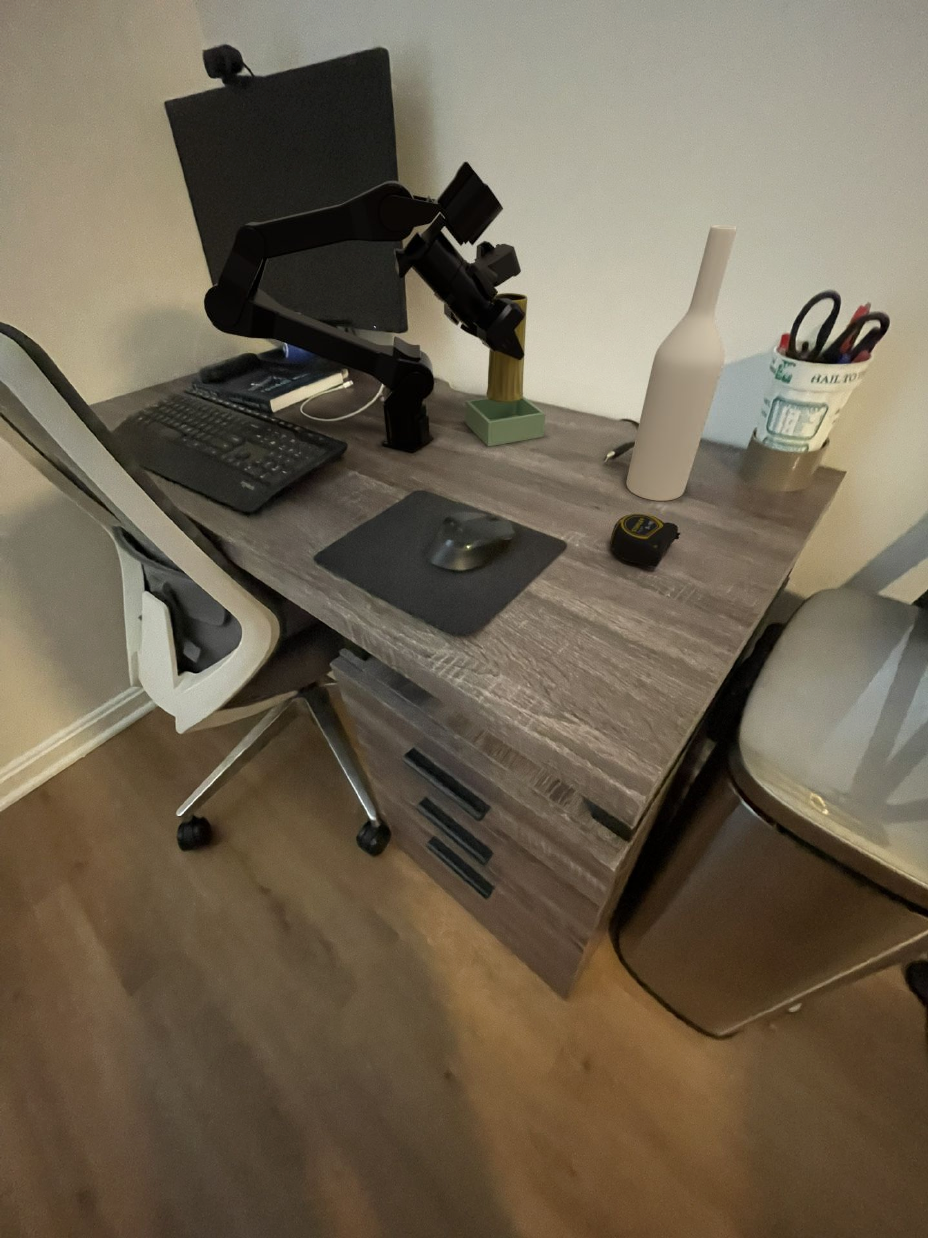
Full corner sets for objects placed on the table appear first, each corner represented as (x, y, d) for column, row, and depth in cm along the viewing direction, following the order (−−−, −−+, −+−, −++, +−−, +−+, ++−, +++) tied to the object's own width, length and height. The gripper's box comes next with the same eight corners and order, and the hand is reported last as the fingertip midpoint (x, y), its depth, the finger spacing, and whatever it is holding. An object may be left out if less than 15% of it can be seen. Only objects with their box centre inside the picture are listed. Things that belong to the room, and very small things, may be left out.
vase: (511, 387, 89) (517, 290, 79) (530, 399, 85) (538, 298, 75) (479, 393, 87) (481, 294, 77) (497, 405, 83) (502, 302, 73)
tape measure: (653, 577, 59) (662, 550, 56) (598, 556, 62) (604, 529, 59) (675, 549, 63) (684, 523, 60) (622, 531, 66) (629, 505, 63)
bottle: (616, 490, 74) (671, 227, 53) (639, 469, 78) (698, 220, 58) (671, 507, 70) (753, 232, 50) (692, 484, 75) (774, 224, 54)
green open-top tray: (487, 446, 85) (488, 422, 82) (465, 423, 92) (465, 400, 89) (543, 437, 87) (545, 413, 85) (517, 415, 94) (519, 392, 92)
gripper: (516, 227, 62) (581, 322, 73) (462, 213, 75) (524, 296, 86) (455, 307, 66) (526, 387, 76) (413, 281, 79) (479, 352, 89)
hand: (514, 352), depth 82 cm, fingers closed on vase, 5 cm apart
